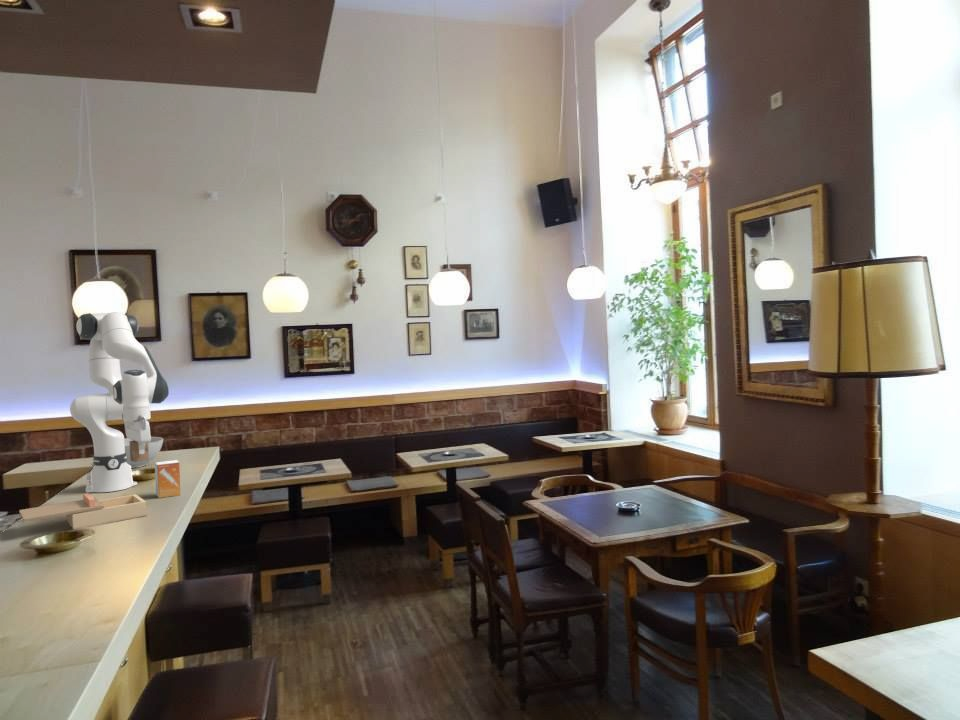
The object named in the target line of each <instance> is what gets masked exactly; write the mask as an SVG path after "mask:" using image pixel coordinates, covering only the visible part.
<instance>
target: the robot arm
mask: <svg viewBox="0 0 960 720" xmlns="http://www.w3.org/2000/svg"><path fill="white" fill-rule="evenodd" d="M138 331H139V323H138V319H137V318H136V317H135V315H131V314H129V313H128V314H127V313H125V314H123V313H121V312H107V313H106V312H104V313H103V312H102V313H100V312H99V313H90V312H89V313H83V314H81V315H80V316H79V317H78V318H77V322H76V332H77V334H78V337H80V338H81V339H84V340H87V341H90V342H89V347H88V348H89V349H88V363H89V364H88V366H89V367H88V369H89V378H90V380H91V382H92V383H93V384H95V385H98V386H99V387H100V386H101V387H103V388H106V389H107V391H108V393H100V394H87V395H82V396H79V397H75V398H74V399H73V400H72V402H71V403H70V407H69V411H70V415H71V417H72V418H73V419H74V420H75V421H76V422H78V423H80V424H81V425H82V426H84V427H85V428H86V429H87V431H88V432H89V434H90V436H91V439H92V445H93V456H92V457H93V458H92V462H93V463H92V464H93V468H91V470H90V473H87V474H86V478H87V480H89V481H88V483H86V485H85V486H86V487H85V493H89V494H90V493H108V492H109V493H110V492H117V491H122V490H126V489H130V488H132V487H133V486H137V485H138V482H137V481H134V480H133V471H132V470H133V469H131V466H130V465H129V464H127V462H126V461H127V455H126V452H125V443H124V438H125V436H124V433H123V432H122V431H120V430H119V429H116V428H112V427H109V425H107V424H106V422H107V421H118V420H119V421H120V420H123V423H124V424H123V425H124V431H125V435H126V438H128V439H131V440H132V441H136V442H138V445H139V449H138V453H139V454H144V453H145V443H147V442H150V440H151V437H152V435H151V427H150V422H149V421H148V420H150V419H151V418H152V417H151V404H162V403H163V402H164V401H165V400H166V399H167V398H168V396H169V385H168V382H167V381H166V379H165V377H164V376H163V374H161V372H160V370H159V367H158V366H157V364H156V362H155V360H154V358H153V356H152V353H150V351H149V349H148V348H147V346H145V345H144V344H141V343H140V342H139V341H138V340H137V339H136V337H137V334H138ZM121 361H125V362H129V363H134V364H136V365H138V366H140V367H141V368H142V370H141V369H130V370H125V371H123V373H122V372H121Z"/></svg>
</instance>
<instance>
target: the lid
mask: <svg viewBox="0 0 960 720" xmlns="http://www.w3.org/2000/svg"><path fill="white" fill-rule="evenodd" d="M98 500H99V499H97V498H96V497H94V496H93V495H91V494H90V492H89V493H86V492H85V493H82V499H79V500H78V499H77V500H75V501H74V500H73V501H68V502H61V503H60V502H59V503H55V504H54V503H53V504H50V505H49V504H48V505H42V506H37V507H31V508H25V509H24V508H23V509H19V511H18V512H19V515H20V517H21V519H22V520H23V522H24V523H25V522H26V523H27V522H32V521H37V520H43V519H44V520H45V519H49V518H54V517H60V516H66V515H67V514H73V513H79V512H84V511H90V510H96V509H102V508H104V506H103V505H102V504H101V503H100V502H99V501H98Z"/></svg>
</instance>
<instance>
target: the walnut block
mask: <svg viewBox="0 0 960 720" xmlns="http://www.w3.org/2000/svg"><path fill="white" fill-rule="evenodd" d="M129 444H130V460H131V461H133V462H138V461H145V460H149V451H148V442H147V443H145V453H144V454H139V453H138V449H139V445H138V442H136V441H129Z"/></svg>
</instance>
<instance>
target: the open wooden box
mask: <svg viewBox="0 0 960 720" xmlns="http://www.w3.org/2000/svg"><path fill="white" fill-rule="evenodd" d="M97 500H98V501H99V502H100V503H101V504H102V505H103V506H104V508H102V509H96V510H90V511H84V512H79V513H73V514H67V515H65V521H66V522H67V524H68V525H69V526H70V527H71V528H72V530H73V529H75V530H79V529H84V528H90V527H95V526H101V525H106V524H110V523H117V522H121V521H122V522H123V521H127V520H132V519H133V520H134V519H138V518H144V517H147V516H148V512H147V501H146V499H145V500H144V499H143V498H142V497H140V496H139V495H138V494H136V493H135V494H129V495H128V494H127V495H123V496H118V497H117V496H116V497H111V498H105V499H104V498H103V499H97Z"/></svg>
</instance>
